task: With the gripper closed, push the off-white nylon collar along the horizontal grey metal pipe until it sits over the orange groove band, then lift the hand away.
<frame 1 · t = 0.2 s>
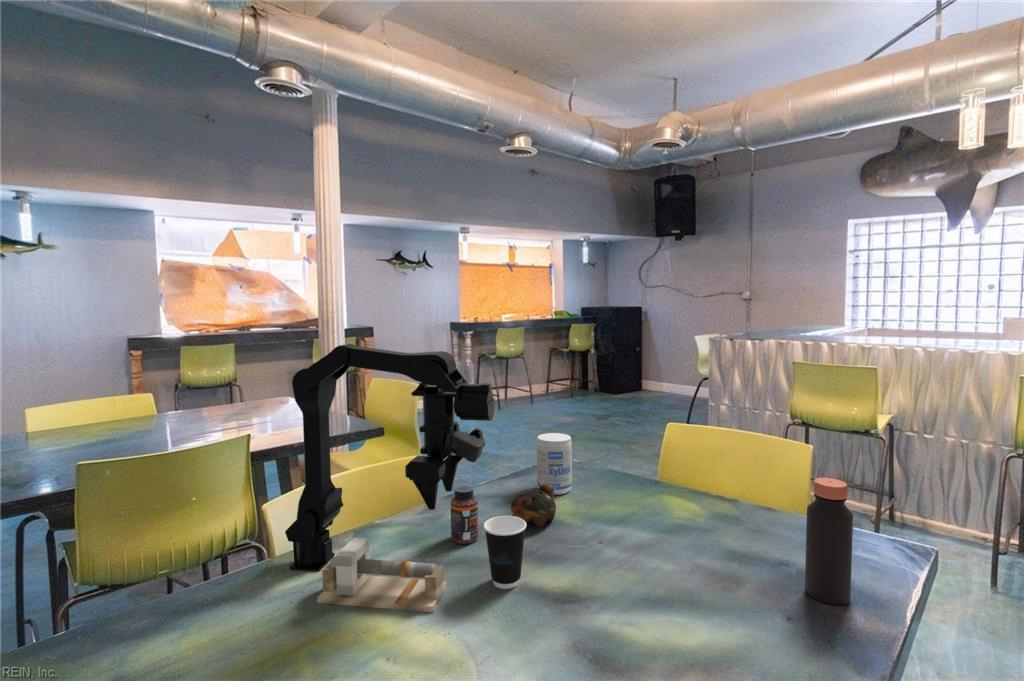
hand: (440, 499, 99), 14 cm above the table, tool pointing down, fingers open, 9 cm apart
dixie cup: (506, 582, 96), on the table
pipe rig: (383, 594, 93), on the table
supplement tub: (554, 490, 143), on the table
supplement bottle: (465, 539, 114), on the table
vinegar: (827, 595, 90), on the table
ocarina: (533, 523, 122), on the table
collar: (353, 565, 93), point 5 cm above the table, slide at 0.0 cm
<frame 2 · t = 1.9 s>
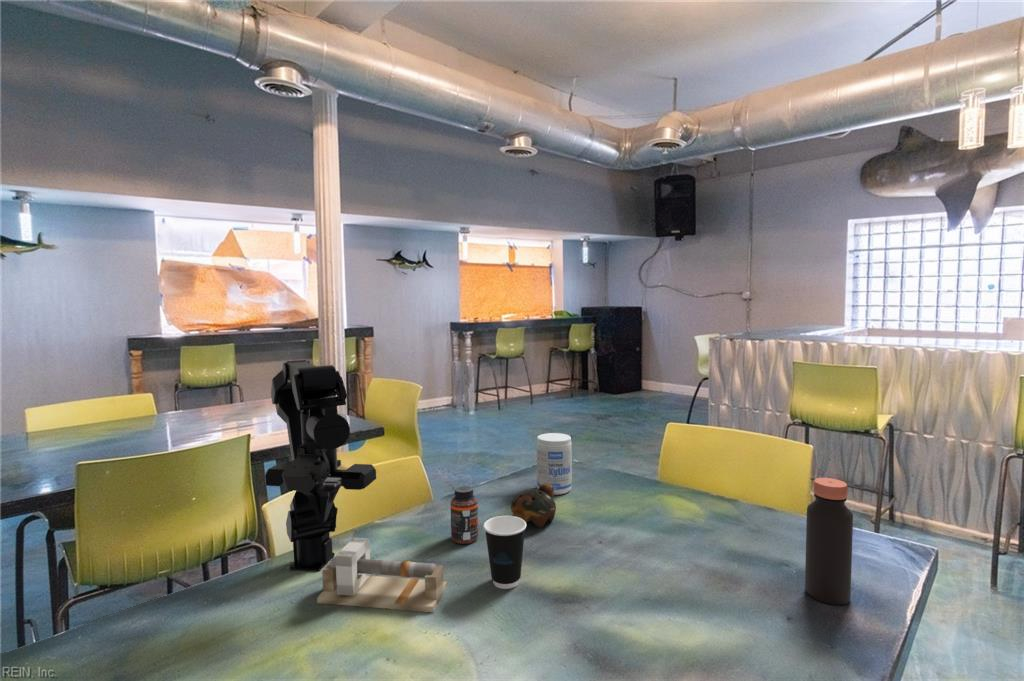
hand: (323, 521, 94), 13 cm above the table, tool pointing down, fingers closed
nothing on the table moved.
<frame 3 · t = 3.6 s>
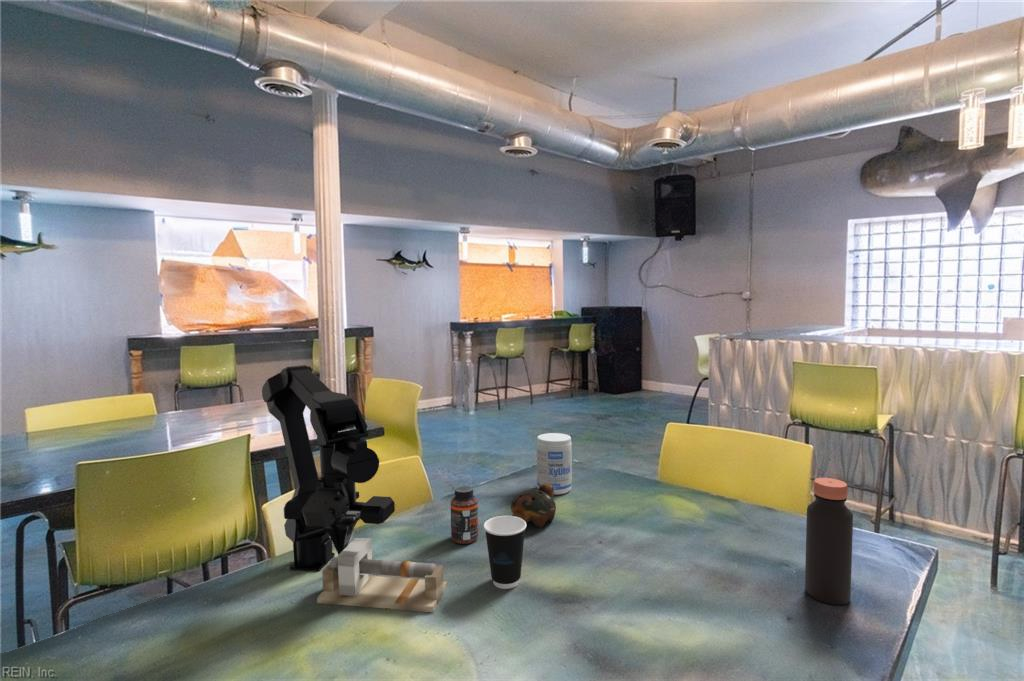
hand: (341, 553, 94), 7 cm above the table, tool pointing down, fingers closed
collar: (355, 565, 93), point 5 cm above the table, slide at 0.4 cm, touching gripper
everything else where it was.
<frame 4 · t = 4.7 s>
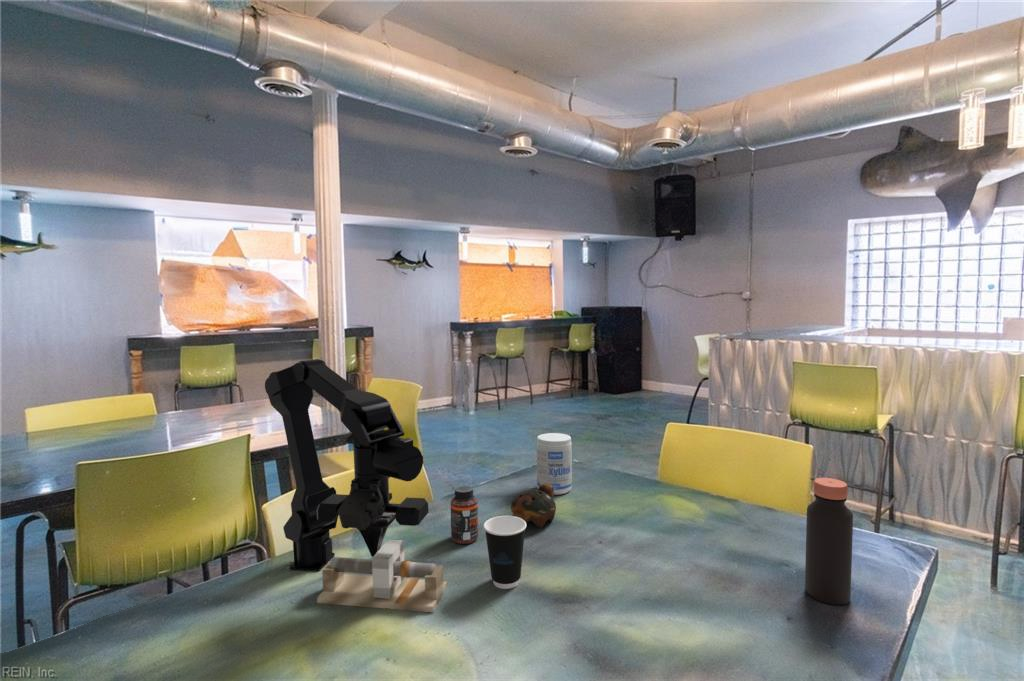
hand: (374, 555, 93), 7 cm above the table, tool pointing down, fingers closed
collar: (389, 568, 92), point 5 cm above the table, slide at 6.7 cm, touching gripper
everything else where it was.
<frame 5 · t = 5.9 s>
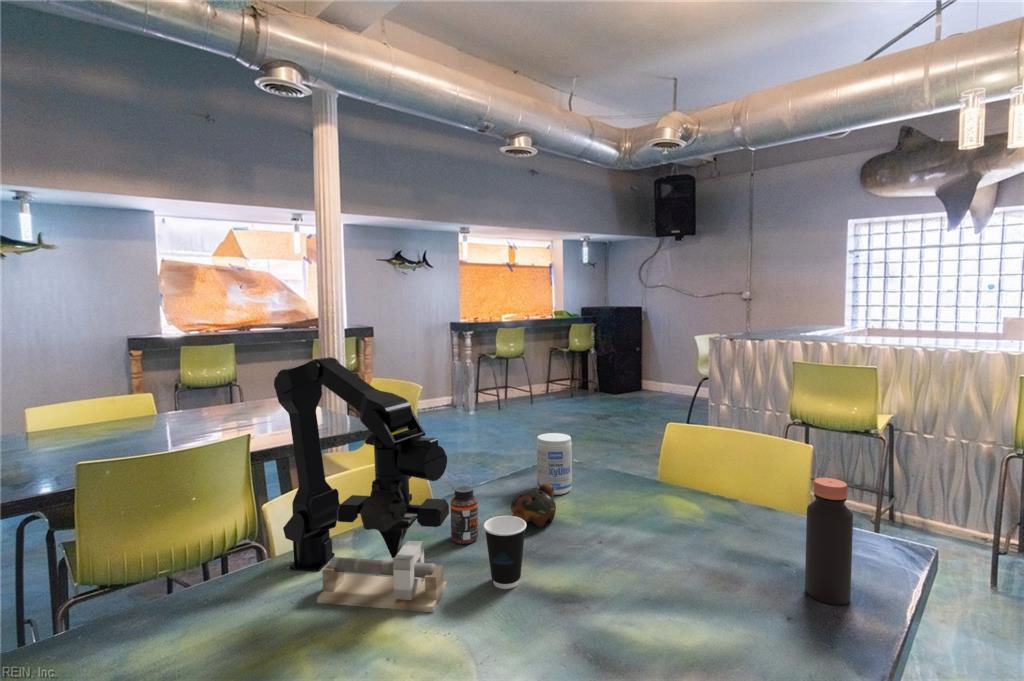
hand: (395, 557, 92), 7 cm above the table, tool pointing down, fingers closed
collar: (409, 569, 92), point 5 cm above the table, slide at 10.5 cm, touching gripper
everything else where it was.
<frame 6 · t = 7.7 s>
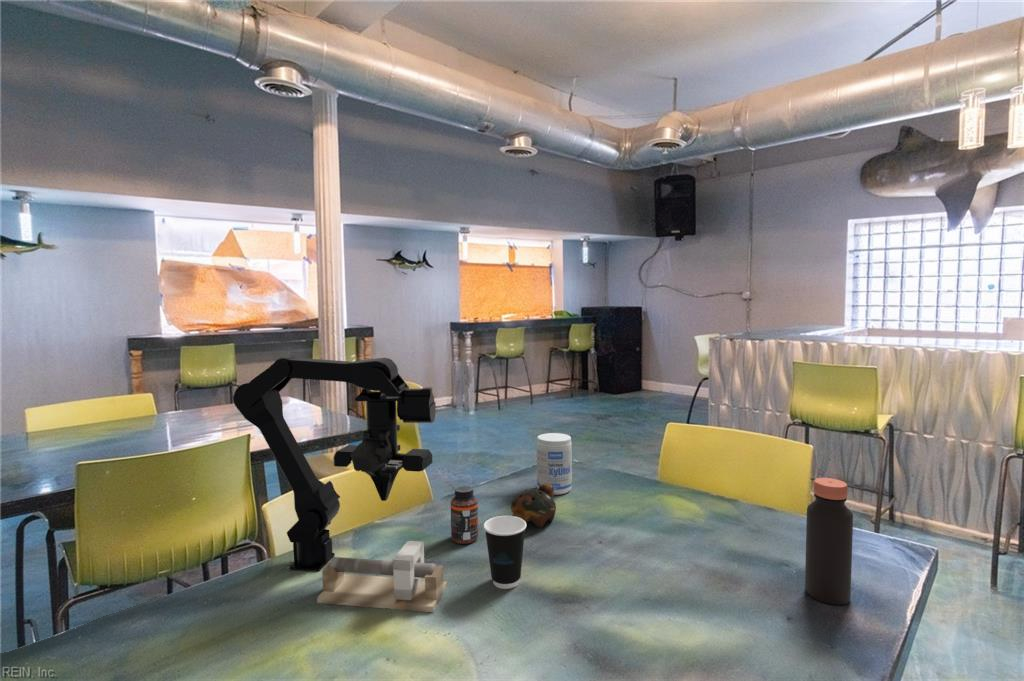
hand: (384, 500, 103), 13 cm above the table, tool pointing down, fingers closed
collar: (409, 569, 92), point 5 cm above the table, slide at 10.5 cm
everything else where it was.
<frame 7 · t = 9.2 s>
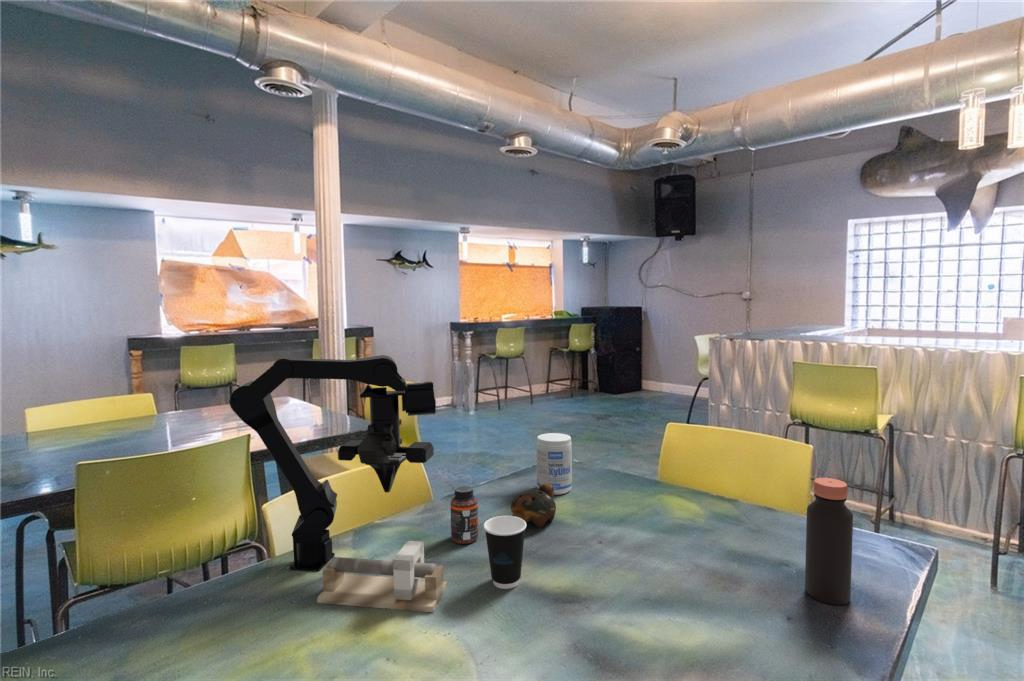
hand: (387, 491, 108), 13 cm above the table, tool pointing down, fingers closed
nothing on the table moved.
at the end: collar slide at 10.5 cm; the gripper is holding nothing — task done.
